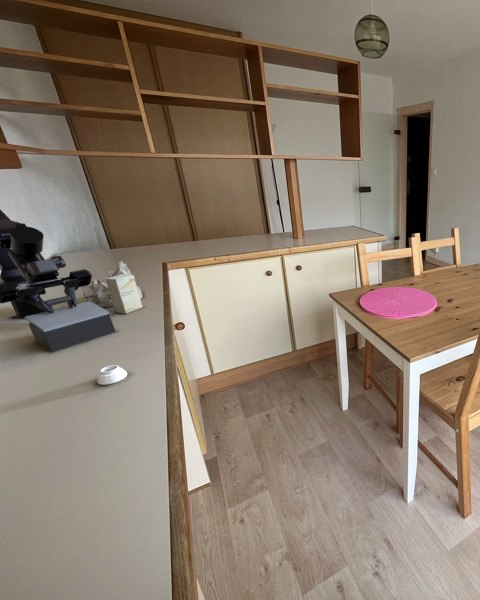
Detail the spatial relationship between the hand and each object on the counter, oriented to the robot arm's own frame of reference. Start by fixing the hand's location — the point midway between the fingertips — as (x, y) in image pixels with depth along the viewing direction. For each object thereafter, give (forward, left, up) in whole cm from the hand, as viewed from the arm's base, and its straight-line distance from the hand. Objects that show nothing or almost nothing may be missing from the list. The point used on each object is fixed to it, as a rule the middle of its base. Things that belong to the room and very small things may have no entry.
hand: (63, 309), depth 88 cm
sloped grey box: (+2, -1, -8) cm, 9 cm away
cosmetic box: (+2, +19, -8) cm, 21 cm away
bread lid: (+2, -1, -2) cm, 3 cm away
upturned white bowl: (+28, -22, -8) cm, 37 cm away
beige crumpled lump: (-10, +29, -8) cm, 32 cm away
